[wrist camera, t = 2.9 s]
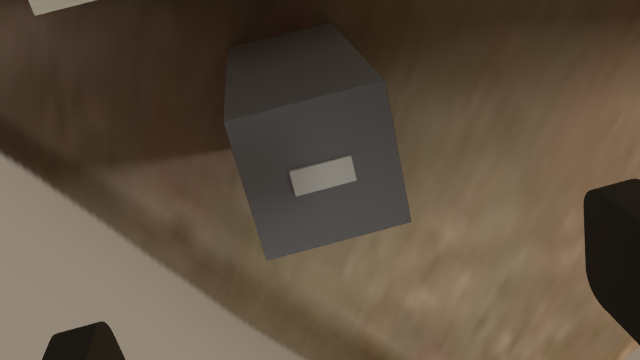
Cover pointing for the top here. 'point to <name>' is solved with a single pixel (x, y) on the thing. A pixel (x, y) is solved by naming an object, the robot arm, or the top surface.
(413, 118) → the top surface
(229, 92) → the grey rectangular block
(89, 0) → the switch board
